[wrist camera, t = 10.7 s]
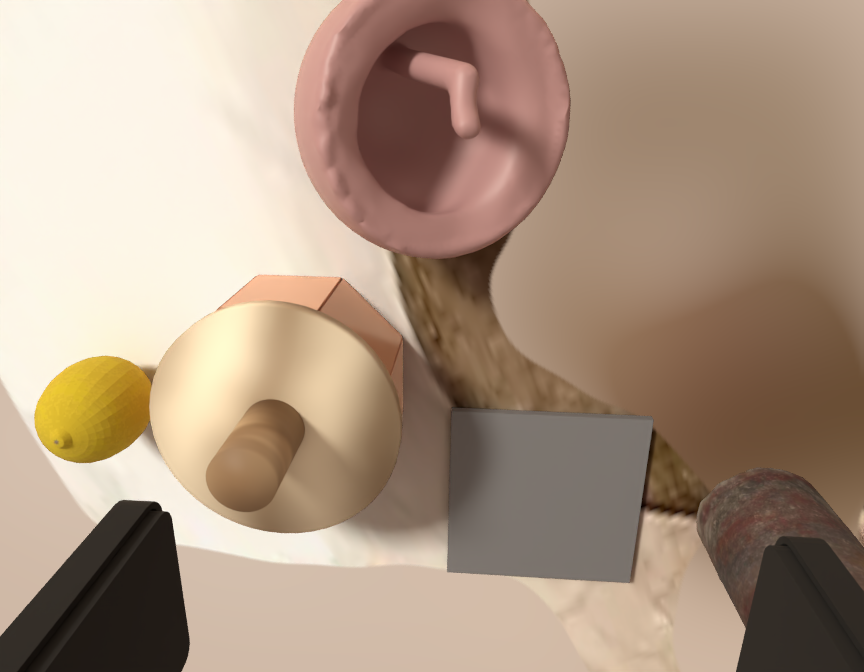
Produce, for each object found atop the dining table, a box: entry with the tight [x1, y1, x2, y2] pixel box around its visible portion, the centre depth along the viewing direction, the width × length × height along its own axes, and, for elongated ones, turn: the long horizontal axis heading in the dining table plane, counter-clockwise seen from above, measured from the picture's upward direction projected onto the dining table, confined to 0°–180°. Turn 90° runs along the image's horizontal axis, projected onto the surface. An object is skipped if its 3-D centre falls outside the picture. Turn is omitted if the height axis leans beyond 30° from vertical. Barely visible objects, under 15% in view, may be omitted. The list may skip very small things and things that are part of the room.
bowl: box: [216, 275, 403, 414], centre depth 38 cm, size 12×12×6 cm
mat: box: [447, 407, 653, 583], centre depth 42 cm, size 12×12×1 cm
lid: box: [149, 300, 402, 533], centre depth 32 cm, size 13×13×6 cm
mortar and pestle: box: [294, 0, 570, 259], centre depth 30 cm, size 12×12×12 cm
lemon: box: [34, 356, 152, 463], centre depth 38 cm, size 6×6×8 cm
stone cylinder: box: [696, 468, 864, 627], centre depth 33 cm, size 8×7×20 cm
